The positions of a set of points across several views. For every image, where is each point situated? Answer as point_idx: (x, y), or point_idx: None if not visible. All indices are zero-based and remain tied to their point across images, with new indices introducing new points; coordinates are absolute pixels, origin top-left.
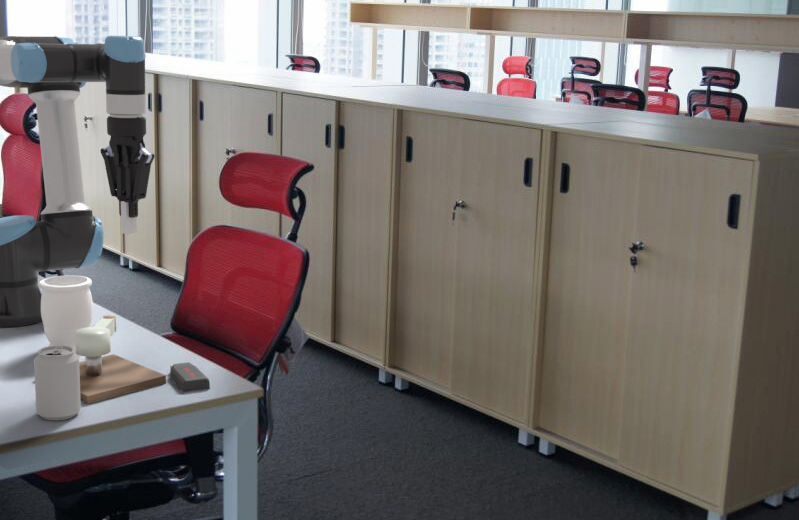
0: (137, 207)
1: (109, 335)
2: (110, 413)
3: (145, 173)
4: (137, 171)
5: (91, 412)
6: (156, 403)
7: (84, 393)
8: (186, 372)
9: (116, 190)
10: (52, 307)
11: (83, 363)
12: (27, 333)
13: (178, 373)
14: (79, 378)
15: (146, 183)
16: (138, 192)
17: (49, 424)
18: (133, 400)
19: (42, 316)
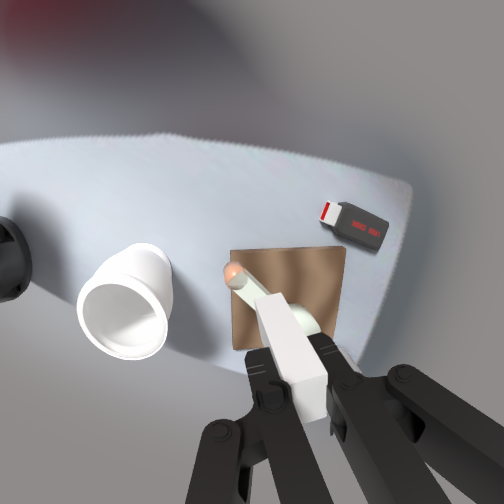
0: (344, 358)
1: (315, 320)
2: (360, 327)
3: (501, 454)
4: (473, 492)
5: (346, 338)
6: (374, 285)
7: None
8: (364, 231)
9: (242, 467)
10: (153, 334)
11: (240, 300)
12: (57, 274)
13: (359, 240)
14: (355, 365)
15: (468, 413)
16: (421, 419)
17: None
18: (354, 298)
19: (133, 327)
